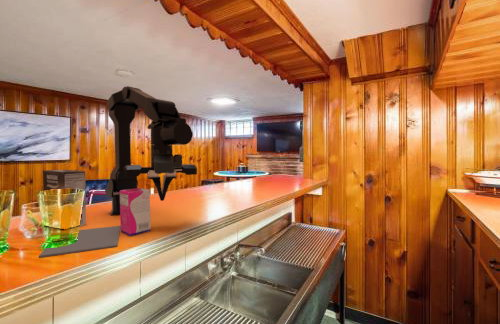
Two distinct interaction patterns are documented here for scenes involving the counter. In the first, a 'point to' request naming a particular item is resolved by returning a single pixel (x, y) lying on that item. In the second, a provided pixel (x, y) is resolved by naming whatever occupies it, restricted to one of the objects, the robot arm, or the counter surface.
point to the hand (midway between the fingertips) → (162, 200)
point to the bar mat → (88, 241)
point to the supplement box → (135, 211)
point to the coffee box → (66, 183)
